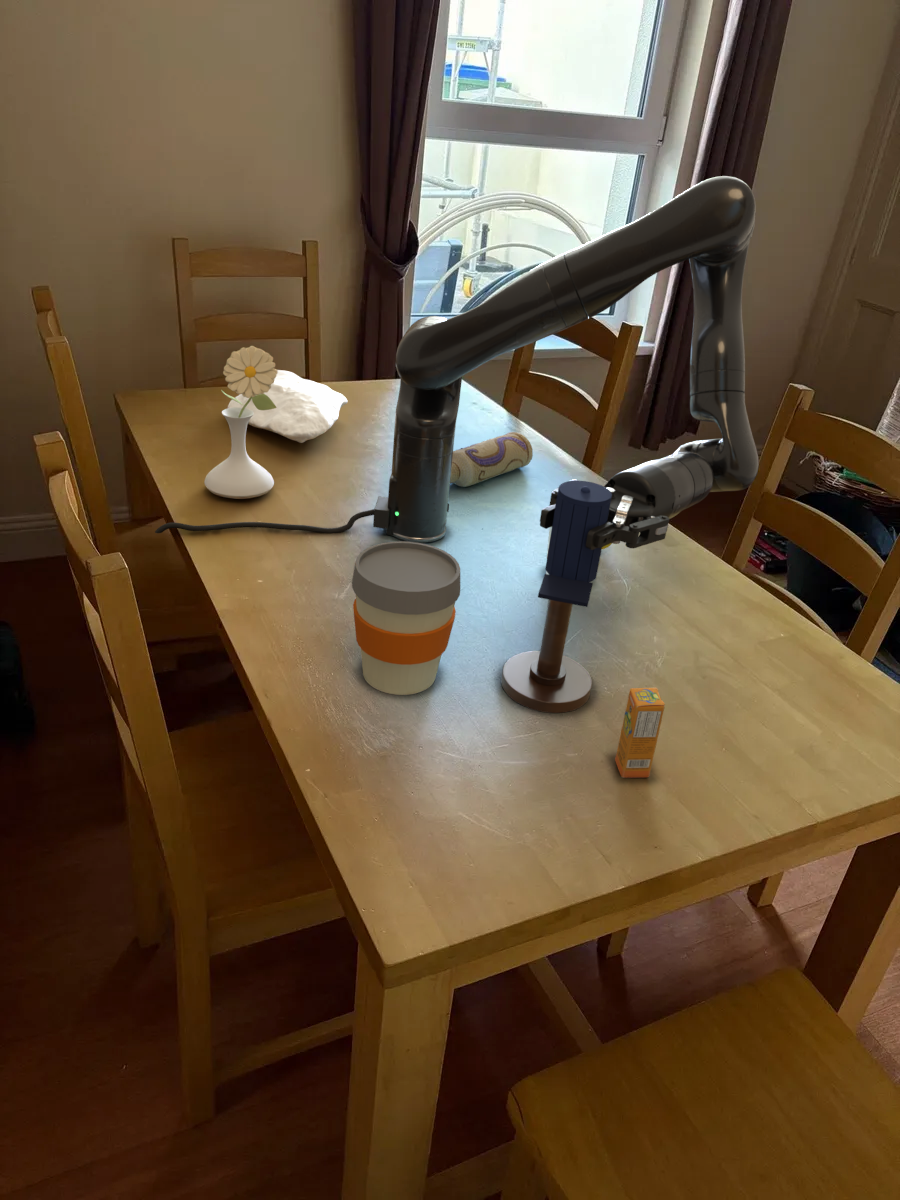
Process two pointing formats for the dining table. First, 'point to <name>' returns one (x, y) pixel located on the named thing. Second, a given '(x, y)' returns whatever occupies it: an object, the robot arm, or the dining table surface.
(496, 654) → the dining table surface
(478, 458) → the decorative bottle
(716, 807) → the dining table surface
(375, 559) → the reusable coffee cup
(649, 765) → the supplement box
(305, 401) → the crumpled cloth
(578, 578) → the navy lidded canister
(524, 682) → the paper towel holder
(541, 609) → the dining table surface
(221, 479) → the flower in vase
